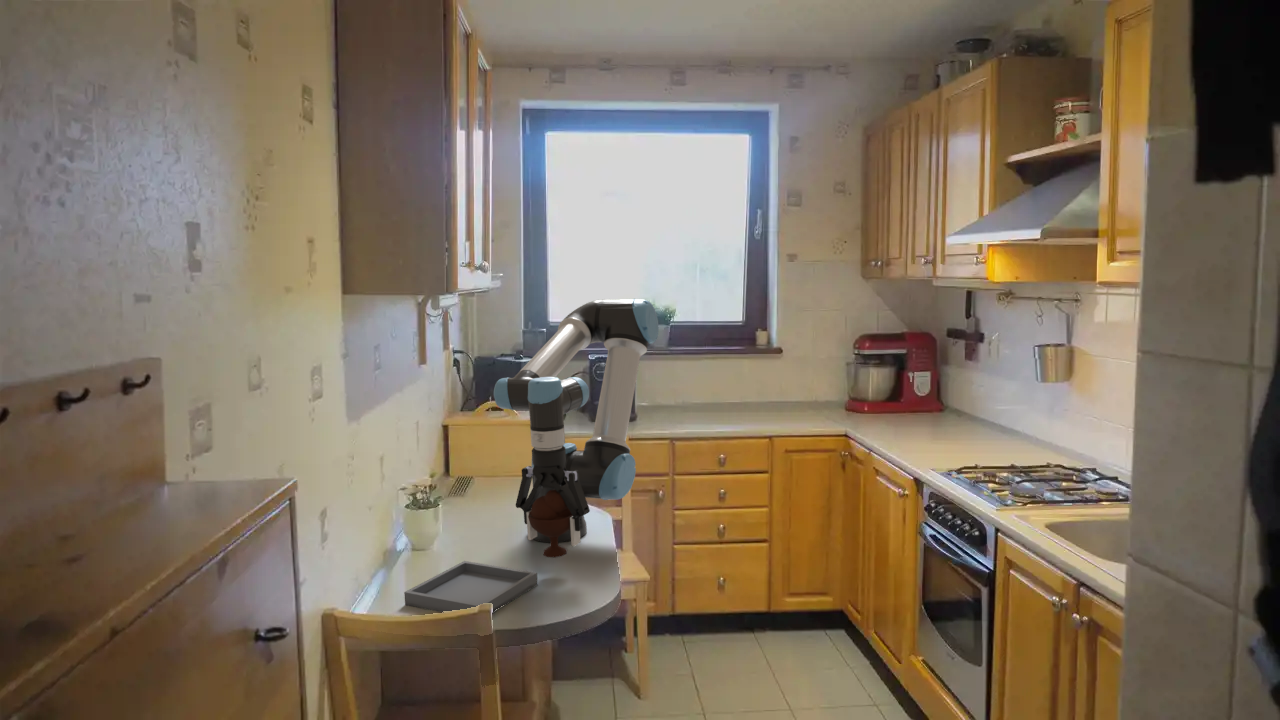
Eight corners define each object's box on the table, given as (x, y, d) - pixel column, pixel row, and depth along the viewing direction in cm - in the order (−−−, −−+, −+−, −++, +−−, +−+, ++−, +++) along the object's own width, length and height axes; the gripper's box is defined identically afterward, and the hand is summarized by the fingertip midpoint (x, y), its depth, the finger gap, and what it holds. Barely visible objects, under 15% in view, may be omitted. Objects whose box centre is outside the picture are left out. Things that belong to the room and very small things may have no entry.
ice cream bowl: (579, 543, 204) (575, 481, 202) (577, 560, 193) (573, 495, 191) (533, 545, 204) (529, 483, 202) (529, 563, 193) (524, 497, 191)
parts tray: (465, 572, 201) (464, 560, 201) (537, 584, 192) (536, 572, 192) (405, 604, 184) (404, 592, 183) (481, 620, 175) (481, 606, 174)
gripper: (495, 446, 197) (502, 540, 200) (584, 454, 186) (590, 553, 189) (514, 439, 204) (520, 529, 207) (602, 446, 193) (607, 541, 196)
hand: (554, 541), depth 198 cm, fingers closed on ice cream bowl, 11 cm apart
